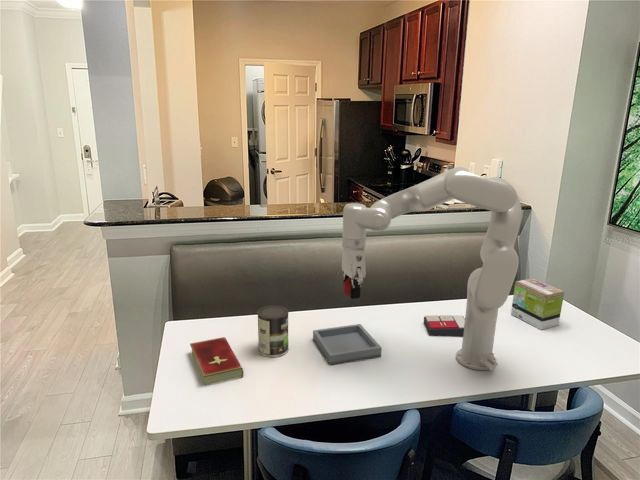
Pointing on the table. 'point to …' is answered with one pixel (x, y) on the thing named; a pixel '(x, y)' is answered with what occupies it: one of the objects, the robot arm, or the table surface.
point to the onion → (348, 286)
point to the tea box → (537, 303)
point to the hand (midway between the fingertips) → (351, 293)
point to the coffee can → (273, 331)
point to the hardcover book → (216, 361)
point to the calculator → (445, 325)
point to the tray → (346, 344)
